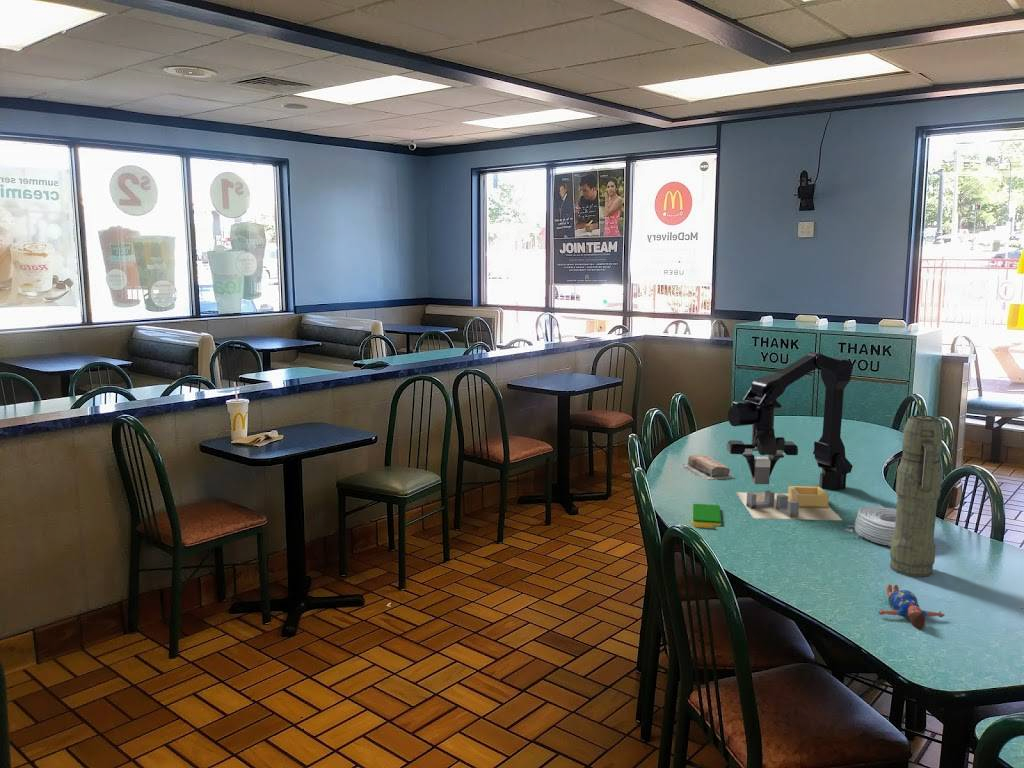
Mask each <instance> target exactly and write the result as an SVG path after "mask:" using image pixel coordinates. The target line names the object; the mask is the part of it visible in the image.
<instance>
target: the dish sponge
mask: <svg viewBox="0 0 1024 768" xmlns="http://www.w3.org/2000/svg"><path fill="white" fill-rule="evenodd" d="M721 518H722V517H721V506H720V505H719V504H705V503H703V504H702V503H692V527H693V528H705V529H717V527H716V526H721V525H722V519H721Z"/></svg>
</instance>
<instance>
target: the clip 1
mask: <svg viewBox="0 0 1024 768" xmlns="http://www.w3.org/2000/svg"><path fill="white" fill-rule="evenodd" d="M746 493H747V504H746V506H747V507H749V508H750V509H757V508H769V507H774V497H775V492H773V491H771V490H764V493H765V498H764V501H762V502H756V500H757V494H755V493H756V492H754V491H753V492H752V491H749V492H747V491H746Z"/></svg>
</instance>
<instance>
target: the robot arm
mask: <svg viewBox="0 0 1024 768" xmlns="http://www.w3.org/2000/svg"><path fill="white" fill-rule="evenodd" d="M815 370H818V371H820V378H821V380H822V382H823V385H824V388H825V393H824V394H825V395H824V396H825V397H824V408H823V409H824V410H823V423H822V436H821V437H820V438H819V440H815V441H814V442H813V452H812V455H814V459H815V461H816V463H817V467H818V468H821V472H820V473H819V479H818V480H819V484H818V487H820V488H821V489H822V490H830V491H843V490H846V487H847V475H848V474H850V473H851V472H852V469H853V465H852V463H851V462H850V461H849V460H848V458H847V456H846V447H845V445H844V442H843V440H842V437H841V436H842V435H841V433H842V431H841V430H842V419H843V409H844V407H843V406H844V392H845V389H846V388H847V386H848V384H849V383H850V382H851V377H852V375H853V373H852V372H853V364H852V363H851V362H850V361H849V360H848V359H842V358H836V357H831V356H827V355H824V354H822V353H821V352H814V351H810V352H807V353H805V355H804V356H802V357H801V358H799V359H798V360H795V361H794V362H793V363H791V364H789V365H788V366H785V367H784V368H783V369H781V370H779V371H778V372H776V373H774V374H773V373H772V374H767V375H764V376H761V377H758V378H756V379H754V380H753V381H752V383H751V386H750V388H749V389H748V391H747V393H746V395H745V396H744V397H743V399H742V401H733V402H732V406H731V407H729V409H728V412H727V420H728V422H729V424H730V426H732V427H742V426H743V427H745V426H751V429H752V433H751V443H744V442H743V441H742V440H733V439H732V440H731V439H729V440H728V442H727V443H726V450H727V451H728V453H729V454H731V455H742V457H744V458H745V460H746V463H747V465H748V468H749V471H750V474H751V478H752V477H754V457H755V455H754V452H753V451H755V452H756V451H757V452H758V454H759V455H760V456H765V455H766V456H767V455H768V456H767V457H768V458H769V459H770V476H771V475H772V472H773V471H774V468H775V465H776V464H777V462H778V461H779V460H780V459H783V458H784V457H785V455H787V456H798V455H799V447H798V445H797V444H796V443H794V441H787V440H785V438H784V436H783V437H779V436H777V437H776V436H775V427H774V426H775V414H776V413H775V412H776V410H775V409H780V408H782V404H780V402H779V401H778V398H780V397H781V396H782V395H784V393H785V391H786V389H787V388H788V387H789V386H790V385H792V384H794V383H795V382H797V381H798V380H800V379H801V378H803V377H806V376H807V375H809V373H811V372H813V371H815ZM784 453H785V455H784Z"/></svg>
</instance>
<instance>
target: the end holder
mask: <svg viewBox="0 0 1024 768" xmlns="http://www.w3.org/2000/svg"><path fill="white" fill-rule="evenodd" d="M787 492H788V499H789V500H790V501H798V502H799V508H828V506H829V499H830V495H828V494H827V492H825V490H824V489H822V488H821V487H820V486H804V485H803V486H802V485H801V486H798V485H795V486H794V485H791V486H789V485H788V491H787Z"/></svg>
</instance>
